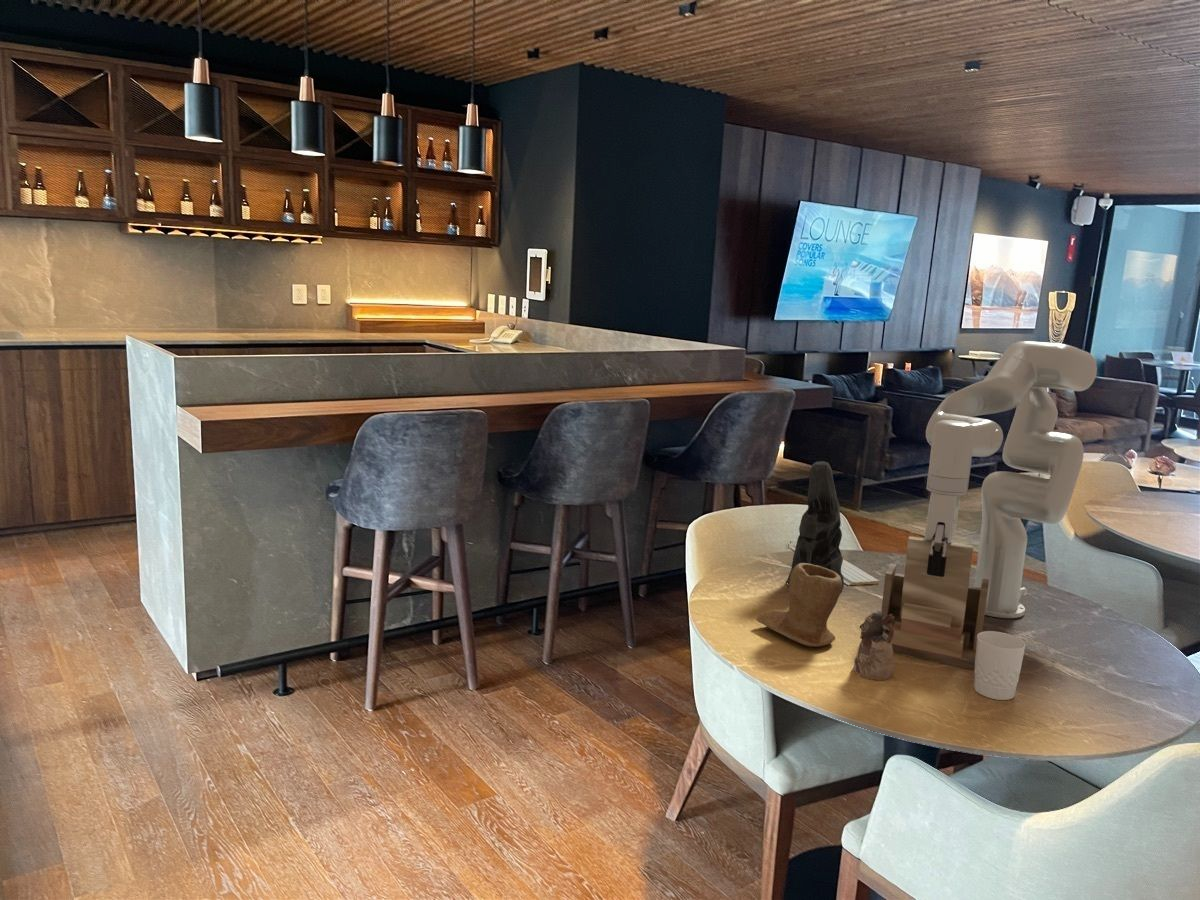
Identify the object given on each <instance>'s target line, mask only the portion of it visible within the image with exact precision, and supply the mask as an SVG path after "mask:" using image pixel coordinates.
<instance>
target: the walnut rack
mask: <svg viewBox="0 0 1200 900" xmlns="http://www.w3.org/2000/svg"><path fill="white" fill-rule="evenodd" d="M884 573H885V574H884V584H883V585H884V586H883V593H882V603H881V611H880V612H881V613H882V614H883V617H884V618H885V617H886V616H888V615H889V614H892V615H893V616H894V619H893V620H892V621H890V623H891V625H892V626H894V624H895V622H896V621H897V622H901V620H900V610H901V601H902V592H903V583H904V574H901V573H897V563H889V565H888V568H887V570H886V571H885V572H884ZM988 585H989V580H988V579H982V585H981V588H979V587H974V585H969V587H968V595H967V603H966V611H965V619H964V627H963V631H962V634H964V635H965V636H964V644H963V651H962V656H961V658H957V657H952V656H947V655H942V654H937V653H932V652H927V651H923V650H918V649H913V648H908V647H903V646H898V645H893V644H892V649H893V654H897V655H902V656H905V657H906V656H907V657H911V658H916V659H922V660H924V661H925V660H926V661H931V662H935V663H940V664H945V665H948V666H949V665H950V666H955V667H960V668H965V669H969V670H974V671H975V656H976V643H977V635H978V634H979V633H980V632H984V631H983V630H984V622H985V616H986V615H985V608H986V600H987V592H988ZM883 632H884V633H885V634H887V635H888V636H890V632H889V631H888V630H884V631H883Z"/></svg>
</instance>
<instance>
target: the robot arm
mask: <svg viewBox="0 0 1200 900" xmlns="http://www.w3.org/2000/svg"><path fill="white" fill-rule="evenodd" d="M1097 372H1098V366H1097V361H1096V359H1095V357H1094V356H1093V355H1092V353H1090V352H1088V351H1086V350H1083V349H1081V348H1078V347H1076V346H1072V345H1071V344H1070V345H1069V344H1066V343H1057V342H1044V341H1032V340H1031V341H1030V340H1027V341H1026V340H1023V341H1016V342H1014V343H1012V344H1010V345H1009V346H1008V347H1007V348H1006V349H1005V350H1004V352H1003V353H1002V354H1001V356H1000V357H999V358H998V360H997V362H995V364H994V365H993V366H992V368H991V369H990V370H989V372H988V373H987V375H986V376H985V378H984V379H983V380H979V381H978V382H975V383H972V384H970V385H967V386H966V387H963V388H961V389H959V390H957V391H955V392H953V393H951V394H950V395H948V396H947V397H945V398H944V399H943V401H941V403H940V404H939V405H938V407H937V408H936V409H935V410H934V411H933V413H932V415H931V417H930V419H929V420H928V422H927V425H926V429H925V439H926V441H927V443H928V444H929V446H930V455H929V463H928V464H929V466H928V472H927V479H926V480H927V481H926V490H927V491H929V492H931V493H930V498H929V505H928V511H927V518H926V527H925V534H924V538H925V540H926V541H928V540H932V544H931V550H930V554H929V558H928V567H927V574H928V575H933V576H939V577H944V574H945V566H946V558H947V557H945V554H946V547H947V544H950V543H952V541H953V537H954V533H955V532H956V531H955V530H956V526H957V522H958V515H959V507H960V503H961V502H960V501H961V496H966V495H968V489H969V481H970V475H971V467H972V458H973V457H974V458H975V457H978V458H985V457H990V456H993V455H994V454H995V453H997V452H998V451H999V449H1000V448H1001V446H1002V445H1003V440H1004V432H1003V429H1002V427H1001V425H999V424H998V423H997V422H995V421H993V420H990V419H986V418H981V417H977V416H984V415H992V414H997V413H1002V412H1007V411H1010V410H1013V409H1015V408H1016V409H1015V412H1014V414H1013V415H1014V416H1013V419H1012V422H1011V424H1010V428H1009V430H1008V433H1007V436H1006V439H1005V442H1004V446H1003V448H1002V449H1003V450H1002V455H1001V456H1002V461H1003V462H1004V464H1005V465H1007V466H1008V467H1010V468H1012V469H1016V470H1020V471H1026V472H1031V473H1037V474H1041V475H1046V476H1047V475H1048V476H1049V478H1044V477H1039V476H1034V475H1030V474H1024V473H1020V472H1019V473H1018V472H1013V471H1006V470H1005V471H1002V470H1001V471H1000V470H999V471H994V472H991V473H989V474H988V475H987V476H986V477H985V478H984V480H983V482H982V486H981V489H980V490H981V492H980V493H981V494H980V496H981V497H980V498H981V510H982V514H981V515H982V516H981V518H982V519H981V526H980V527H981V529H980V535H979V545H978V551H977V559H976V567H975V568H976V569H975V575H974V584H973V587H979V588H981V585H982V579H988V580H989V585H988V592H987V600H986V608H985V615H984V616H988V617H994V618H999V619H1015V618H1016V619H1017V618H1021V617H1023V616H1025V613H1026V608H1025V606H1024V604H1022V603H1020V599H1021V597H1024V596H1027V595H1028V592H1029V591H1028V589H1027V588H1026V587H1024V586H1023V587H1022V580H1023V574H1024V573H1023V572H1024V567H1025V558H1026V553H1027V552H1026V551H1027V546H1028V545H1027V544H1028V533H1027V530H1026V527H1025V525H1024V524H1023V521H1022V520H1021V519H1023V520H1029V521H1031V522H1038V523H1042V524H1047V525H1055V524H1058V523H1060V522H1061V521H1062V520H1063V519H1064V518H1065V516H1066V513H1067V511H1068V509H1069V506H1070V503H1071V500H1072V498H1073V497H1072V496H1073V494H1074V492H1075V491H1074V490H1075V488H1076V485H1077V481H1078V479H1079V475H1080V472H1081V469H1082V465H1083V461H1084V445H1083V443H1082V440H1081V439H1080V438H1079V437H1078V436H1075V435H1073V434H1071V433H1064V432H1059V431H1054V430H1055V425H1056V422H1057V419H1058V416H1059V411H1058V408H1057V406H1056V403H1055V401H1054V400H1053V398H1052V396H1051V395H1050V393H1049V392H1048V390H1047V389H1052V390H1053V389H1054V390H1061V391H1062V390H1065V391H1073V392H1083V391H1086V390H1088V389H1089V388H1090V387H1091V386H1092V385H1093V384H1094V382H1095V379H1096V377H1097ZM941 545H943V546H941Z"/></svg>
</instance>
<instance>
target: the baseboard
mask: <svg viewBox="0 0 1200 900" xmlns="http://www.w3.org/2000/svg"><path fill="white" fill-rule="evenodd" d="M789 543H790V544H791V543H792V541H789ZM789 543H788V544H786V545H785V547H787V548H788V549H790V550H791V551H792V552H795V548H796V544H793V545H792V546H790V544H789ZM789 546H790V547H789ZM841 573H842V575H843V576H844V583H845V584H847V585H857V586H864V585H863V584H873V585H879V584H880V580H879V579H877V578H876V577H874V576H872V575H870V574H868V573H867V572H866V571H864V570H863V569H860V568H859V567H857V566H855V565H854V564H852V563H850V562H848V561H847V560H845V559H844V558H843V562H842V566H841ZM845 584H844V585H845ZM861 584H862V585H861ZM847 585H846V586H847Z"/></svg>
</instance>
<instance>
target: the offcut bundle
mask: <svg viewBox="0 0 1200 900" xmlns="http://www.w3.org/2000/svg"><path fill="white" fill-rule="evenodd" d="M952 614H953V612H952V611H947V610H941V609H936V608H930V607H925V606H919V605H914V604H908V603H904V606H903V608H902V616H901V618H902V620H901V622H897V621H896V622H895V624H894V626H893V629H894V635H893V638H892V640H891V644H893V645H898V646H903V647H908V648H913V649H918V650H923V651H927V652H932V653H937V654H942V655H947V656H952V657H957V658H961V656H962V651H963V644H964V636H965V635H964V634H962V629H963V622H959V621H954V620H952Z"/></svg>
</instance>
